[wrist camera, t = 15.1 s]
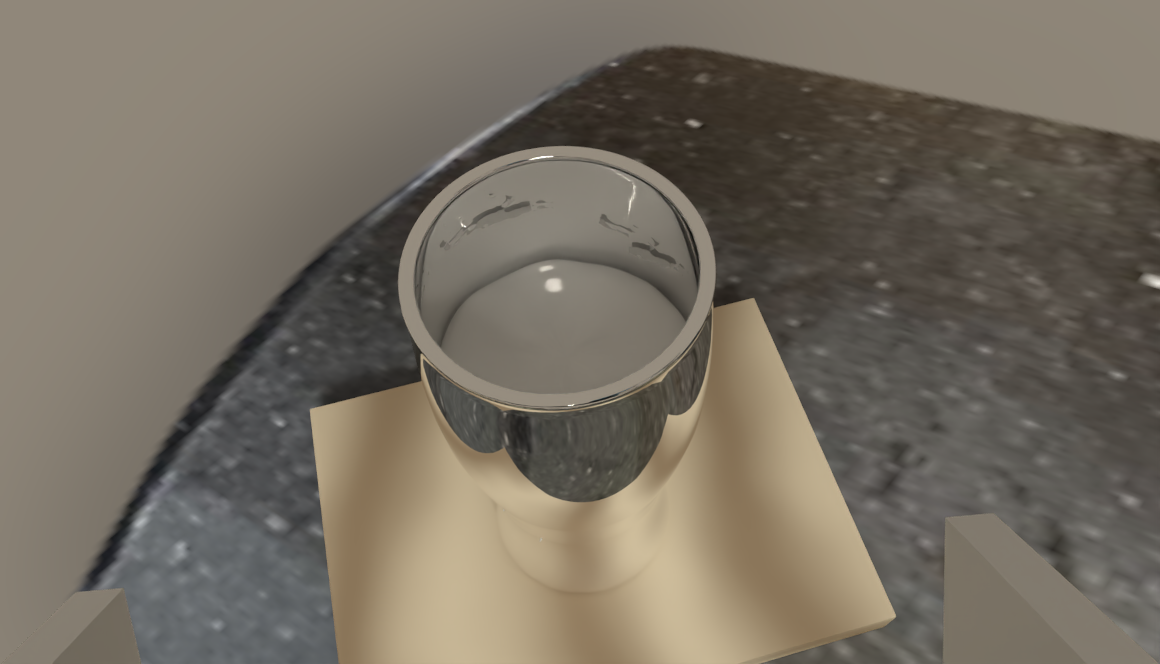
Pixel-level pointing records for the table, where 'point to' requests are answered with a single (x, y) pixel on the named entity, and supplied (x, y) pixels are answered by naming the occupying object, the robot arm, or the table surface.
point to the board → (633, 609)
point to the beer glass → (565, 350)
